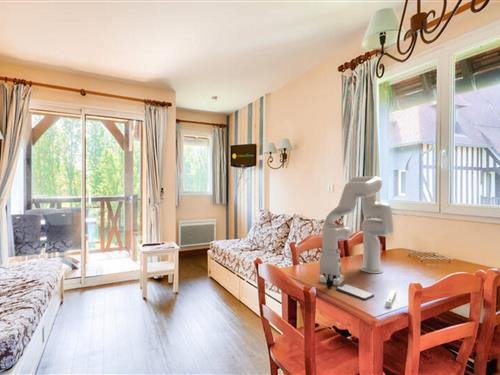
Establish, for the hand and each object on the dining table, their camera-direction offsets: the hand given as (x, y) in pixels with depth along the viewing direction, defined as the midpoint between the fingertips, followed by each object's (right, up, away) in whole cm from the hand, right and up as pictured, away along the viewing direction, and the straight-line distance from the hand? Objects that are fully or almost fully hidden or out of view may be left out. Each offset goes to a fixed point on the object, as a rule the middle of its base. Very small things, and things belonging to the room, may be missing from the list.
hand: (329, 287), depth 140 cm
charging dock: (+24, -1, -15) cm, 28 cm away
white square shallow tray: (+4, 0, +9) cm, 10 cm away
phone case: (+10, -1, -6) cm, 12 cm away
